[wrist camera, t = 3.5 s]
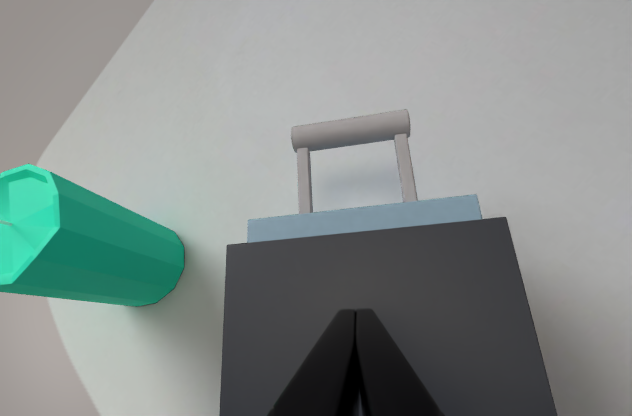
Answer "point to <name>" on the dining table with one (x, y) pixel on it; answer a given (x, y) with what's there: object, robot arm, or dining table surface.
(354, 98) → the dining table surface
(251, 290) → the dark grey box
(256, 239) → the drawer
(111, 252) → the candle
